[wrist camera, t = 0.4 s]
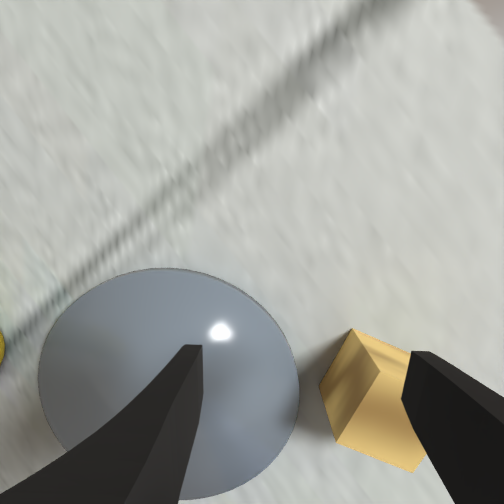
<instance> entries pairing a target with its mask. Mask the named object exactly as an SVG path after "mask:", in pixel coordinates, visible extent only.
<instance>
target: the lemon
mask: <svg viewBox="0 0 504 504" xmlns="http://www.w3.org/2000/svg"><path fill="white" fill-rule="evenodd" d="M4 350H5V343H4V338H3V335H2V333H1V331H0V365H1V362H2V359H3V357H4Z"/></svg>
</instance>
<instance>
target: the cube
mask: <svg viewBox="0 0 504 504" xmlns="http://www.w3.org/2000/svg"><path fill="white" fill-rule="evenodd" d="M410 355H411V354H410V353H408V352H406V351H403V350H401V349H399V348H396V347H394V346H392V345H390V344H387V343H385V342H383V341H380V340H378V339H376V338H374V337H371V336H369V335H367V334H364V333H362V332H360V331H357V330H355V329H353V328H352V329H351V331H350V333H349V335H348V336H347V338H346V340H345V341H344V343H343V345H342V347H341V348H340V350H339V352H338V354H337V355H336V357H335V359H334V361H333V362H332V364H331V366H330V367H329V369H328V371H327V373H326V374H325V376H324V378H323V380H322V381H321V383H320V385H319V389H320V392H321V395H322V399H323V402H324V405H325V408H326V412H327V415H328V418H329V421H330V425H331V428H332V431H333V434H334V438H335V441H336V443H338V444H341V445H343V446H346V447H348V448H351V449H353V450H356V451H358V452H361V453H363V454H366V455H368V456H371V457H373V458H376V459H379V460H381V461H384V462H386V463H389V464H391V465H394V466H396V467H399V468H401V469H404V470H406V471H409V472H411V473H413V472H414V471H415V469H416V468H417V466H418V465H419V464H420V462H421V461H422V459H423V458H424V457H425V455H426V454H427V453H426V452H425V450H424V448H423V446H422V444H421V443H420V441H419V439H418V437H417V435H416V433H415V432H414V430H413V428H412V425H411V423H410V421H409V418H408V416H407V414H406V411H405V408H404V406H403V403H402V401H401V396H402V391H403V387H404V382H405V378H406V373H407V369H408V364H409V360H410Z"/></svg>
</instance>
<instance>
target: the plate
mask: <svg viewBox="0 0 504 504" xmlns="http://www.w3.org/2000/svg"><path fill="white" fill-rule="evenodd" d="M185 344H193V345H202V347H203V391H204V394H203V400H202V407H201V413H200V419H199V425H198V428H197V432H196V436H195V440H194V444H193V447H192V451H191V455H190V459H189V462H188V466H187V470H186V473H185V477H184V481H183V485H182V488H181V492H180V496H179V500H192V499H200V498H206V497H210V496H214V495H218V494H221V493H224V492H227V491H230V490H232V489H234V488H236V487H239V486H241V485H243V484H245V483H246V482H248V481H249V480H251V479H252V478H254V477H256V476H257V475H258V474H260V473H261V472H262V471H263V470H264V469H265V468H267V467H268V466H269V465H270V464H271V463H272V462H273V460H274V459H275V458H276V457H277V456H278V455H279V453H280V452H281V450H282V449H283V447H284V446H285V444H286V443H287V441H288V439H289V437H290V435H291V433H292V431H293V428H294V424H295V421H296V418H297V413H298V407H299V381H298V374H297V369H296V364H295V361H294V357H293V354H292V351H291V348H290V346H289V344H288V342H287V339H286V337H285V335H284V333H283V332H282V330H281V329H280V327H279V326H278V324H277V323H276V321H275V320H274V319H273V318H272V317H271V315H270V314H269V313H268V312H267V311H266V310H265V309H264V308H263V307H262V306H261V305H260V304H259V303H258V302H257V301H255V300H254V299H253V298H252V297H251V296H249V295H248V294H246V293H245V292H243V291H242V290H240V289H239V288H237V287H235V286H233V285H231V284H229V283H227V282H225V281H224V280H221V279H219V278H216V277H213V276H210V275H208V274H205V273H200V272H196V271H192V270H187V269H177V268H150V269H144V270H138V271H133V272H129V273H126V274H122V275H119V276H116V277H114V278H112V279H110V280H108V281H105V282H103V283H101V284H100V285H98V286H97V287H95V288H93V289H92V290H90V291H89V292H87V293H86V294H84V295H83V296H81V297H80V298H79V299H78V300H76V301H75V302H74V303H73V304H72V305H71V306H69V307H68V308H67V309H66V311H65V312H64V313H63V314H62V315H61V316H60V318H59V319H58V320H57V321H56V323H55V325H54V326H53V328H52V329H51V331H50V333H49V335H48V337H47V339H46V342H45V344H44V347H43V350H42V354H41V358H40V362H39V373H38V383H39V394H40V399H41V404H42V408H43V410H44V413H45V416H46V419H47V421H48V423H49V425H50V427H51V429H52V431H53V433H54V434H55V436H56V437H57V439H58V440H59V442H60V443H61V444H62V446H63V447H64V448H65V449H66V451H67V452H68V451H69V450H71V449H72V448H74V447H75V446H76V445H78V444H79V443H81V442H82V441H83V440H85V439H86V438H88V437H89V436H90V435H92V434H93V433H94V432H96V431H97V430H98V429H100V428H101V427H102V426H103V425H104V424H106V423H107V422H108V421H109V420H111V419H112V418H113V417H114V416H115V415H116V414H118V413H119V412H120V411H121V410H122V409H123V408H124V407H125V406H127V405H128V404H129V403H130V402H131V401H132V400H133V399H134V398H135V397H136V396H137V395H138V394H139V393H140V392H141V391H142V390H143V389H144V388H145V387H146V386H147V385H148V384H149V383H150V382H151V381H152V380H153V379H154V378H155V377H156V376H157V375H158V374H159V373H160V371H161V370H162V369H163V368H164V367H165V366H166V365H167V364H168V363H169V361H170V360H171V359H172V358H173V357H174V356H175V354H176V353H177V352H178V351H179V350H180V348H181V347H182V346H183V345H185Z"/></svg>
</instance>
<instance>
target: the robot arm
mask: <svg viewBox="0 0 504 504" xmlns="http://www.w3.org/2000/svg"><path fill="white" fill-rule="evenodd" d="M203 394H204V391H203V347H202V345H193V344H185V345H183V346H182V347H181V348H180V350H179V351H178V352H177V353H176V354H175V356H174V357H173V358H172V359H171V360H170V361H169V363H168V364H167V365H166V366H165V367H164V368H163V369H162V370H161V371H160V373H159V374H158V375H157V376H156V377H155V378H154V379H153V380H152V381H151V382H150V383H149V384H148V385H147V386H146V387H145V388H144V389H143V390H142V391H141V392H140V393H139V394H138V395H137V396H136V397H135V398H134V399H133V400H132V401H131V402H130V403H129V404H128V405H127V406H125V407H124V408H123V409H122V410H121V411H120V412H119V413H118V414H116V415H115V416H114V417H113V418H112V419H111V420H109V421H108V422H107V423H106V424H104V425H103V426H102V427H101V428H100V429H98V430H97V431H96V432H94V433H93V434H92V435H90V436H89V437H88V438H86V439H85V440H83V441H82V442H81V443H79V444H78V445H76V446H75V447H74V448H72V449H71V450H69V451H68V452H67V453H65V454H64V455H63V456H61V457H60V458H58V459H57V460H55V461H53V462H52V463H50V464H49V465H47V466H46V467H44V468H43V469H41V470H40V471H38V472H36V473H35V474H33V475H31V476H30V477H28V478H27V479H25V480H23V481H22V482H20V483H18V484H17V485H15V486H13V487H12V488H10V489H8V490H6V491H5V492H3V493H1V494H0V504H178V500H179V496H180V492H181V488H182V485H183V481H184V477H185V473H186V470H187V466H188V462H189V459H190V455H191V451H192V447H193V444H194V440H195V436H196V432H197V428H198V425H199V419H200V413H201V407H202V400H203ZM401 401H402V403H403V406H404V408H405V411H406V414H407V416H408V418H409V421H410V423H411V425H412V428H413V430H414V432H415V433H416V435H417V437H418V439H419V441H420V443H421V444H422V446H423V448H424V450H425V452H426V453H427V455H428V457H429V459H430V460H431V462H432V464H433V466H434V468H435V469H436V471H437V473H438V475H439V476H440V478H441V480H442V482H443V483H444V485H445V487H446V489H447V491H448V492H449V494H450V496H451V498H452V499H453V501H454V503H455V504H504V397H502V396H501V395H499V394H497V393H496V392H494V391H493V390H491V389H489V388H488V387H486V386H485V385H483V384H481V383H480V382H478V381H477V380H475V379H474V378H472V377H470V376H469V375H467V374H466V373H464V372H463V371H461V370H459V369H458V368H456V367H455V366H453V365H452V364H450V363H448V362H447V361H445V360H443V359H442V358H440V357H438V356H437V355H435V354H433V353H431V352H429V351H411V355H410V360H409V364H408V369H407V373H406V378H405V382H404V387H403V391H402V396H401Z"/></svg>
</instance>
